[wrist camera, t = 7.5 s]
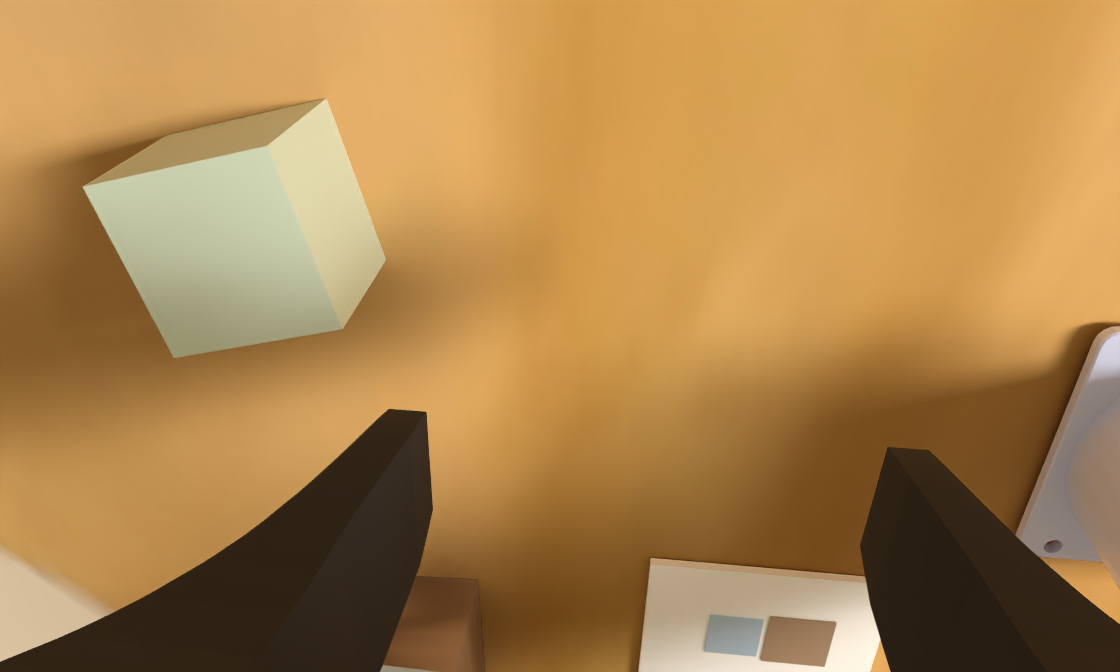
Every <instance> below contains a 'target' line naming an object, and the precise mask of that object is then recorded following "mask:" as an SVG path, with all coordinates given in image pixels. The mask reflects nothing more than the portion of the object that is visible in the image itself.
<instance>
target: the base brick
mask: <svg viewBox="0 0 1120 672" xmlns="http://www.w3.org/2000/svg"><path fill="white" fill-rule="evenodd" d="M383 665H385V666H394V667H403V668H411V669H420V670H429V671H435V672H486V670H485V658H484V647H483V636H482V624H481V613H480V602H479V590H478V580H476V579H459V578H442V577H426V576H416V577H415V580H414V583H413V585H412V588H411V591H410V594H409V596H408V599H407V602H406V604H405V607H404V610H403V612H402V615H401V618H400V620H399V623H398V626H397V628H396V631H395V634H394V636H393V639H392V642H391V644H390V647H389V650H388V652H387V655H386V658H385V660H384V663H383Z"/></svg>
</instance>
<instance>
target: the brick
mask: <svg viewBox="0 0 1120 672" xmlns="http://www.w3.org/2000/svg"><path fill="white" fill-rule="evenodd" d="M83 189H84V191H85V192H86V194H87V196H88V198H89V200H90V202H91V204H92V206H93V207H94V209H95V211H96V213H97V215H98V217H99V219H100V221H101V223H102V224H103V226H104V228H105V230H106V232H107V234H108V236H109V238H110V239H111V241H112V243H113V245H114V247H115V249H116V251H117V253H118V254H119V256H120V258H121V260H122V262H123V264H124V266H125V268H126V269H127V271H128V273H129V275H130V277H131V279H132V281H133V283H134V284H135V286H136V288H137V290H138V292H139V294H140V296H141V298H142V299H143V301H144V303H145V305H146V307H147V309H148V311H149V313H150V315H151V316H152V318H153V320H154V322H155V324H156V326H157V328H158V330H159V331H160V333H161V335H162V337H163V339H164V341H165V343H166V345H167V346H168V348H169V350H170V352H171V354H172V356H173V358H178V357H184V356H190V355H196V354H202V353H208V352H213V351H219V350H225V349H231V348H237V347H243V346H249V345H254V344H260V343H266V342H272V341H278V340H284V339H289V338H295V337H301V336H307V335H313V334H319V333H324V332H330V331H336V330H342V329H343V328H344V326H345V325H346V323H347V322H348V320H349V319H350V317H351V315H352V314H353V312H354V311H355V309H356V307H357V306H358V304H359V303H360V301H361V299H362V298H363V296H364V295H365V293H366V291H367V290H368V288H369V287H370V285H371V284H372V282H373V280H374V279H375V277H376V276H377V274H378V272H379V271H380V269H381V268H382V266H383V264H384V263H385V261H386V258H385V256H384V253H383V250H382V248H381V245H380V242H379V240H378V237H377V234H376V231H375V229H374V226H373V223H372V221H371V218H370V215H369V212H368V210H367V207H366V204H365V202H364V199H363V196H362V193H361V191H360V188H359V185H358V183H357V180H356V177H355V174H354V172H353V169H352V166H351V164H350V161H349V158H348V156H347V153H346V150H345V147H344V145H343V142H342V139H341V137H340V134H339V131H338V128H337V126H336V123H335V120H334V118H333V115H332V112H331V109H330V107H329V104H328V101H327V99H321V100H317V101H313V102H308V103H304V104H300V105H295V106H291V107H287V108H282V109H278V110H274V111H269V112H265V113H260V114H256V115H252V116H247V117H243V118H239V119H234V120H230V121H226V122H221V123H217V124H213V125H208V126H204V127H200V128H195V129H191V130H187V131H182V132H178V133H173V134H169V135H166V136H165V137H163V138H161V139H160V140H158V141H156V142H155V143H153V144H151V145H150V146H148V147H147V148H145V149H143V150H142V151H140V152H138V153H137V154H135V155H133V156H132V157H130V158H129V159H127V160H125V161H124V162H122V163H120V164H119V165H117V166H116V167H114V168H112V169H111V170H109V171H107V172H106V173H104V174H102V175H101V176H99V177H98V178H96V179H94V180H93V181H91V182H89V183H88V184H86V185H84V186H83Z"/></svg>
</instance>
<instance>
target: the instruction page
mask: <svg viewBox="0 0 1120 672" xmlns="http://www.w3.org/2000/svg"><path fill="white" fill-rule="evenodd" d="M879 642H880V636H879V632H878V629H877V626H876V623H875V619H874V616H873V613H872V609H871V606H870V601H869V595H868V590H867V584H866V579H865V576H854V575H843V574H831V573H820V572H808V571H796V570H785V569H773V568H762V567H750V566H739V565H727V564H715V563H704V562H692V561H681V560H669V559H658V558H651V560H650V569H649V578H648V587H647V596H646V605H645V614H644V623H643V632H642V641H641V650H640V659H639V668H638V672H870V670H871V667H872V664H873V661H874V658H875V655H876V652H877V648H878V645H879Z"/></svg>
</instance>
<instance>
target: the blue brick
mask: <svg viewBox="0 0 1120 672" xmlns="http://www.w3.org/2000/svg"><path fill="white" fill-rule="evenodd" d="M380 672H435V671H429V670H420V669H411V668H403V667H394V666H385V665H383V666H382V668H381V671H380Z"/></svg>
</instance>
